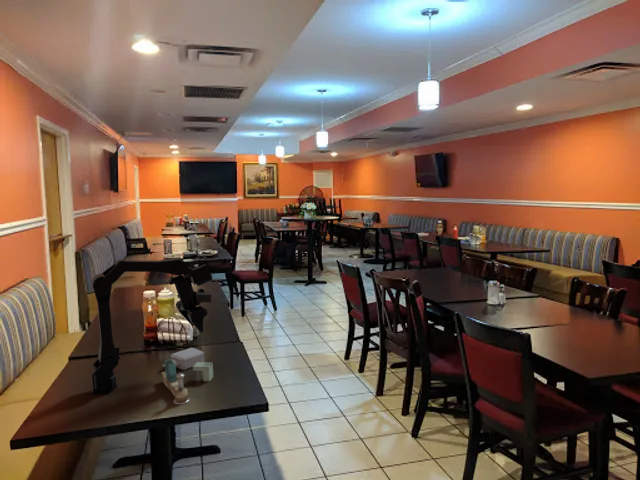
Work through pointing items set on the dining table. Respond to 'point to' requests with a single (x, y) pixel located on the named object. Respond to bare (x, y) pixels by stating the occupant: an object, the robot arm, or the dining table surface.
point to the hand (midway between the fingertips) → (197, 328)
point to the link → (173, 381)
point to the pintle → (180, 387)
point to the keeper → (204, 370)
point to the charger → (187, 358)
